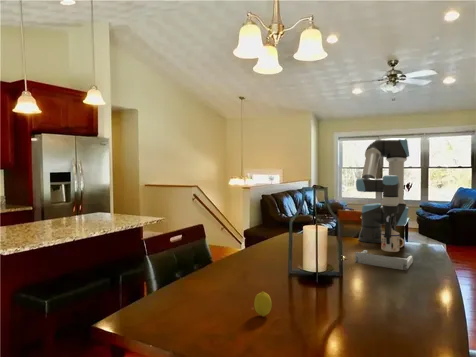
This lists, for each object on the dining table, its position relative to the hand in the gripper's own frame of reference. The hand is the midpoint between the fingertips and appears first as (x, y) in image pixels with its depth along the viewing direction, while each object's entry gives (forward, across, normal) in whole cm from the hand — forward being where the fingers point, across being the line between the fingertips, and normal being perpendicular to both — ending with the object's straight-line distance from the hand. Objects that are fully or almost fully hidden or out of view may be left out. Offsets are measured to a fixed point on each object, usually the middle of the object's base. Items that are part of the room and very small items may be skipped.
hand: (390, 248), depth 178 cm
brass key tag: (+4, +18, -19) cm, 26 cm away
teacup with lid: (+1, 0, +1) cm, 2 cm away
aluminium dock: (+4, +14, 0) cm, 14 cm away
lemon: (+5, +99, -17) cm, 100 cm away
